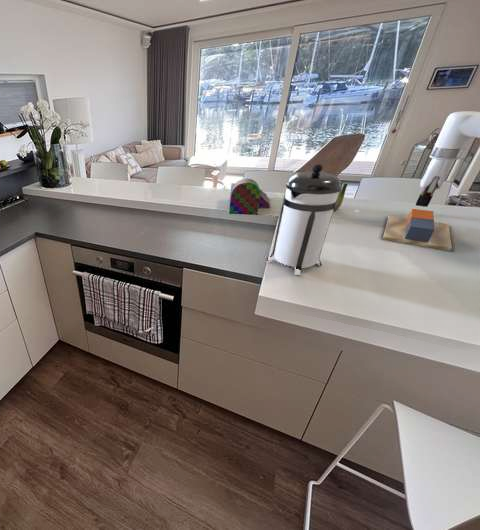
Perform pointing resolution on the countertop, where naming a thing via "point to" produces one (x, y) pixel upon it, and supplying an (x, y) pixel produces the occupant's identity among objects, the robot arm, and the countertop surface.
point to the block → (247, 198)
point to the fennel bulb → (340, 196)
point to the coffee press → (305, 217)
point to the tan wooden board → (397, 233)
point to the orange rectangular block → (420, 215)
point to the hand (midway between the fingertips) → (421, 205)
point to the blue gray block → (419, 229)
